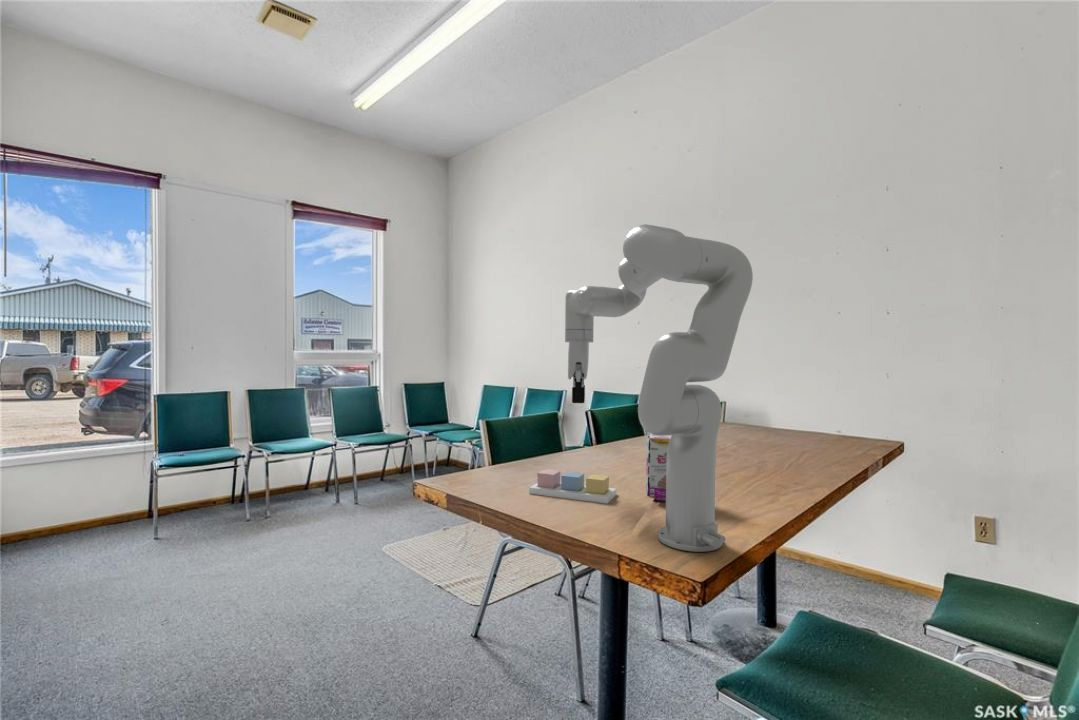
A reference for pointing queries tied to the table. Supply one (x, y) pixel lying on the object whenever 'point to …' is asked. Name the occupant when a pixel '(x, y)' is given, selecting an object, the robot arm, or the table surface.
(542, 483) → the rose block
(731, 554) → the table surface
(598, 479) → the yellow cube
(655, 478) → the candy bar box
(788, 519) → the table surface
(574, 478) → the slate blue block
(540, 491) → the white rectangular tray
